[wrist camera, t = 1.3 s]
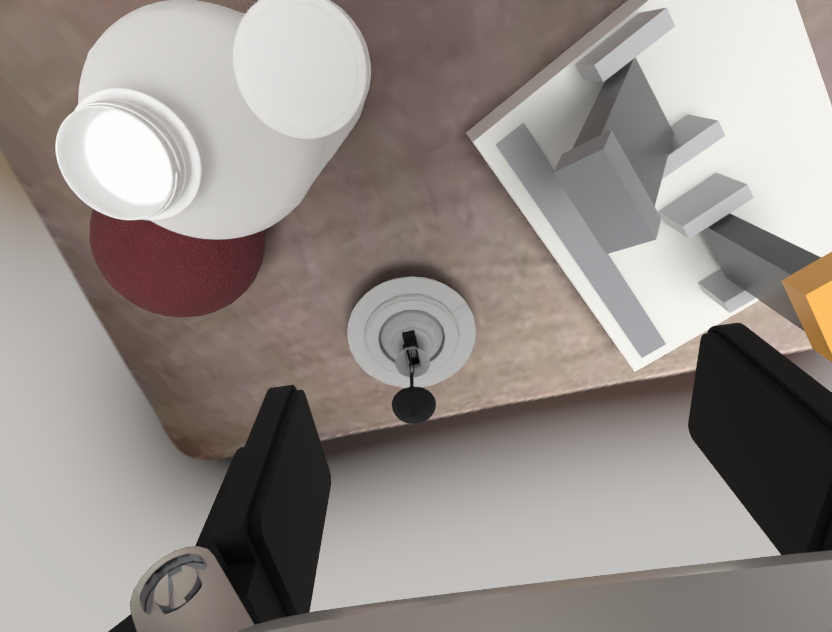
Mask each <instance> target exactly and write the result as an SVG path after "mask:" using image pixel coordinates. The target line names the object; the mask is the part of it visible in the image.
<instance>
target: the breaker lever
mask: <svg viewBox="0 0 832 632" xmlns="http://www.w3.org/2000/svg"><path fill="white" fill-rule="evenodd" d="M702 232H703V234H704V236H705V238H706V240H707V242H708V244H709V246H710V248H711V249H712V251H713V253H714V255H715V257H716V259H717V261H718V263H719V265H720V266H721V268H722V270H723V272H724V274H725V276H726V278H728V279H729V280H731V281H732V282H734V283H735V284H737V285H738V286H740V287H741V288H742V289H744V290H745V291H747V292H748V293H750V294H751V295H753V296H754V297H756V298H757V299H758V300H760V301H761V302H763V303H764V304H766V305H767V306H769V307H770V308H772V309H773V310H774V311H776V312H777V313H779V314H780V315H782V316H783V317H785V318H786V319H788V320H789V321H790V322H792V323H793V324H795V325H796V326H798V327H799V328H801V329H802V330H804V331H805V333H806V335H807V337H808V339H809V341H810V343H811V346H812V348H813V349H814V350H815V351H817V352H818V353H819V354H821V355H822V356H824V357H825V358H827V359H828V360H829V361H831V362H832V252H830V253H828V254H827V255H825V256H823V257H819V256H817V255H815V254H813V253H811V252H809V251H807V250H805V249H803V248H801V247H798V246H796V245H794V244H792V243H790V242H788V241H786V240H784V239H782V238H780V237H778V236H776V235H774V234H772V233H769V232H767V231H765V230H763V229H761V228H759V227H757V226H755V225H753V224H751V223H749V222H747V221H745V220H743V219H740V218H738V217H736V216H734V215H732V214H730V213H729V214H728V215H726V216H725V217H723V218H721V219H720V220H718V221H717V222H715V223H714V224H712V225H711V226H709V227H707V228H706V229H704V230H703V231H702Z"/></svg>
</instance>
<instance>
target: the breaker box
mask: <svg viewBox="0 0 832 632" xmlns="http://www.w3.org/2000/svg"><path fill="white" fill-rule="evenodd" d="M635 57H636V59H637V61H638V63H639V65H640V67H641V69H642V71H643V73H644V75H645V77H646V79H647V81H648V83H649V85H650V87H651V89H652V91H653V93H654V95H655V97H656V99H657V101H658V103H659V105H660V107H661V109H662V111H663V113H664V115H665V117H666V119H667V121H668V123H669V124H670V126H671V128H672V130H673V132H674V135H673V139H672V143H671V146H670V150H669V154H668V158H667V162H666V165H665V169H664V173H663V177H662V181H661V184H660V188H659V192H658V196H657V200H656V203H655V208H656V210H657V212H658V213H659V215H660V217H661V222H660V226H659V230H658V234H657V238H656V240H653V241H650V242H646V243H643V244H640V245H636V246H633V247H629V248H626V249H623V250H619V251H616V252H612V253H609V254H605V252H604V251H603V249H602V248H601V246H600V244H599V243H598V241H597V240H596V238H595V237H594V235H593V234H592V232H591V231H590V229H589V227H588V226H587V224H586V223H585V221H584V220H583V218H582V217H581V215H580V214H579V212H578V210H577V209H576V207H575V206H574V204H573V203H572V201H571V200H570V198H569V197H568V195H567V193H566V192H565V190H564V189H563V187H562V186H561V184H560V183H559V181H558V179H557V178H556V176H555V175H554V173H553V172H554V170H555V168H556V166H557V164H558V162H559V160H560V158H561V156H562V154H563V153H565V152H567V151H569V150H571V149H572V148H573V146H574V144H575V142H576V140H577V138H578V136H579V134H580V132H581V130H582V127H583V125H584V123H585V121H586V119H587V117H588V115H589V113H590V111H591V109H592V107H593V105H594V103H595V101H596V99H597V97H598V94H599V92H600V90H601V88H602V86H603V84H604V82H605V81H606V80H607V79H608V78H609V77H611V76H612V75H613V74H615V73H616V72H617V71H618V70H620V69H621V68H622V67H624V66H625V65H626V64H627V63H629V62H630V61H631V60H633V59H634V58H635ZM466 134H467V136H468V137H469V138H470V140H471V141H472V143H473V144H474V145H475V147H476V148H477V150H478V151H479V153H480V154H481V155H482V157H483V158H484V160H485V161H486V162H487V164H488V165H489V167H490V168H491V170H492V171H493V172H494V174H495V175H496V177H497V178H498V180H499V181H500V182H501V184H502V185H503V187H504V188H505V189H506V191H507V192H508V194H509V195H510V197H511V198H512V199H513V201H514V202H515V204H516V205H517V206H518V208H519V209H520V211H521V212H522V214H523V215H524V216H525V218H526V219H527V221H528V222H529V223H530V225H531V226H532V228H533V229H534V231H535V232H536V233H537V235H538V236H539V238H540V239H541V240H542V242H543V243H544V245H545V246H546V248H547V249H548V250H549V252H550V253H551V255H552V256H553V257H554V259H555V260H556V262H557V263H558V265H559V266H560V267H561V269H562V270H563V272H564V273H565V274H566V276H567V277H568V279H569V280H570V282H571V283H572V284H573V286H574V287H575V289H576V290H577V291H578V293H579V294H580V296H581V297H582V299H583V300H584V301H585V303H586V304H587V306H588V307H589V308H590V310H591V311H592V313H593V314H594V316H595V317H596V318H597V320H598V321H599V323H600V324H601V325H602V327H603V328H604V330H605V331H606V333H607V334H608V335H609V337H610V338H611V340H612V341H613V342H614V344H615V345H616V347H617V348H618V349H619V351H620V352H621V353H622V355H623V356H624V358H625V359H626V360H627V362H628V363H629V364H630V366H631V367H632V369H633V370H634V371H637V370H639V369H641V368H642V367H644V366H646V365H648V364H649V363H651V362H653V361H654V360H656V359H658V358H660V357H661V356H663V355H665V354H667V353H668V352H670V351H672V350H674V349H675V348H677V347H679V346H680V345H682V344H684V343H686V342H687V341H689V340H691V339H693V338H694V337H696V336H698V335H700V334H701V333H703V332H705V331H706V330H708V329H710V328H711V327H712V326H715V325H717V324H719V323H720V322H722V321H724V320H726V319H727V318H729V317H731V316H732V315H734V314H736V313H738V312H739V311H741V310H743V309H745V308H746V307H748V306H750V305H752V304H753V303H755V302H757V301H759V300H758V299H757V298H756V297H754V296H753V295H751V294H750V293H748V292H747V291H745V290H744V289H742V288H741V287H740V286H738V285H737V284H735V283H734V282H732V281H731V280H729V279H728V278H726V276H725V274H724V272H723V270H722V268H721V266H720V265H719V263H718V261H717V259H716V257H715V255H714V253H713V251H712V249H711V248H710V246H709V244H708V242H707V240H706V238H705V236H704V234H703V232H702V231H703V230H704V229H706V228H707V227H709V226H711V225H712V224H714V223H715V222H717V221H718V220H720V219H721V218H723V217H725V216H726V215H728V214H729V213H730V214H732V215H734V216H736V217H738V218H740V219H743V220H745V221H747V222H749V223H751V224H753V225H755V226H757V227H759V228H761V229H763V230H765V231H767V232H769V233H772V234H774V235H776V236H778V237H780V238H782V239H784V240H786V241H788V242H790V243H792V244H794V245H796V246H798V247H801V248H803V249H805V250H807V251H809V252H811V253H813V254H815V255H817V256H819V257H823V256H825V255H827V254H828V253H830V252H832V105H831V102H830V100H829V97H828V94H827V91H826V88H825V85H824V82H823V79H822V76H821V73H820V71H819V68H818V65H817V62H816V59H815V56H814V53H813V50H812V47H811V44H810V42H809V39H808V36H807V33H806V30H805V27H804V24H803V21H802V18H801V15H800V13H799V10H798V7H797V4H796V1H795V0H627V1H626V2H625V3H623V4H622V5H621V6H620V7H619V8H617V9H616V10H615V11H614V12H612V13H611V14H610V15H609V16H608V17H606V18H605V19H604V20H603V21H601V22H600V23H599V24H598V25H597V26H595V27H594V28H593V29H592V30H590V31H589V32H588V33H587V34H586V35H584V36H583V37H582V38H581V39H580V40H578V41H577V42H576V43H575V44H573V45H572V46H571V47H570V48H569V49H567V50H566V51H565V52H564V53H562V54H561V55H560V56H559V57H558V58H556V59H555V60H554V61H553V62H551V63H550V64H549V65H548V66H547V67H545V68H544V69H543V70H542V71H540V72H539V73H538V74H537V75H536V76H534V77H533V78H532V79H531V80H529V81H528V82H527V83H526V84H525V85H523V86H522V87H521V88H520V89H518V90H517V91H516V92H515V93H514V94H512V95H511V96H510V97H509V98H507V99H506V100H505V101H504V102H503V103H501V104H500V105H499V106H498V107H496V108H495V109H494V110H493V111H492V112H490V113H489V114H488V115H487V116H485V117H484V118H483V119H482V120H481V121H479V122H478V123H477V124H476V125H474V126H473V127H472V128H471V129H470V130H468V131H467V132H466Z"/></svg>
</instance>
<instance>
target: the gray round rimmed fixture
mask: <svg viewBox="0 0 832 632" xmlns="http://www.w3.org/2000/svg"><path fill="white" fill-rule="evenodd" d="M347 337H348V344H349V347H350V350H351V353H352V355H353V357H354V358H355V360H356V362H357V363H358V364H359V365H360V366H361V367H362V368H363V369H364V371H365V372H366V373H367V374H369V375H371V376H372V377H374V378H376V379H377V380H379V381H381V382H383V383H385V384H389V385H394V386H398V387H402V388H404V389H402V390H401V391H399V392H398V393H397V394H396V395H395V396H394V398H393V401H392V408H393V412H394V413H395V415H396V416H397V417H398V419H400V420H401V421H404V422H406V423H411V424H416V423H421V422H424V421H426V420H428V419H429V418H430V417H431V416H432V414H433V413H434V411H435V407H436V401H435V398H434V396H433V395H432V394H431V393H430V392H429V391H428V390H426V389H424V388H421V387H426V386H430V385H434V384H437V383H439V382H441V381H443V380H445V379H447V378H449V377H450V376H452V375H453V374H454V373H455V372H457V371H458V370H459V369H460V368H461V367H462V366H463V365H464V363H465V362H466V361H467V359H468V358H469V356H470V354H471V352H472V350H473V347H474V344H475V339H476V325H475V321H474V316H473V313H472V312H471V310H470V308H469V306H468V305H467V303H466V301H465V300H464V299H463V298H462V297H461V296H460V295H459V294H458V293H457V292H456V291H455V290H453V289H452V288H450V287H449V286H447V285H445V284H443V283H441V282H438V281H436V280H433V279H429V278H425V277H413V276H409V277H402V278H395V279H392V280H389V281H386V282H383V283H381V284H379V285H377V286H375V287H374V288H372V289H371V290H370V291H368V292H367V293H366V294H365V295H364V296H363V297H362V298H361V299H360V300H359V301H358V302H357V304H356V306H355V307H354V309H353V311H352V312H351V315H350V319H349V322H348V329H347Z"/></svg>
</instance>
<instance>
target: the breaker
mask: <svg viewBox="0 0 832 632" xmlns="http://www.w3.org/2000/svg"><path fill="white" fill-rule="evenodd" d="M673 135H674V132H673V130H672V128H671V126H670V124H669V123H668V121H667V119H666V117H665V115H664V113H663V111H662V109H661V107H660V105H659V103H658V101H657V99H656V97H655V95H654V93H653V91H652V89H651V87H650V85H649V83H648V81H647V79H646V77H645V75H644V73H643V71H642V69H641V67H640V65H639V63H638V61H637V59H636V57H635V58H634V59H633V60H631V61H630V62H629V63H627V64H626V65H625V66H624V67H622V68H621V69H620V70H618V71H617V72H616V73H615V74H613V75H612V76H611V77H609V78H608V79H607V80H606V81H605V82H604V84H603V86H602V88H601V90H600V92H599V94H598V97H597V99H596V101H595V103H594V105H593V107H592V109H591V111H590V113H589V115H588V117H587V119H586V121H585V123H584V125H583V127H582V130H581V132H580V134H579V136H578V138H577V140H576V142H575V144H574V146H573V148H572V149H571V150H569V151H567V152H565V153H563V154H562V156H561V158H560V160H559V162H558V164H557V166H556V168H555V170H554V172H553V173H554V175H555V176H556V178H557V179H558V181H559V183H560V184H561V186H562V187H563V189H564V190H565V192H566V193H567V195H568V197H569V198H570V200H571V201H572V203H573V204H574V206H575V207H576V209H577V210H578V212H579V214H580V215H581V217H582V218H583V220H584V221H585V223H586V224H587V226H588V227H589V229H590V231H591V232H592V234H593V235H594V237H595V238H596V240H597V241H598V243H599V244H600V246H601V248H602V249H603V251H604V252H605V254H609V253H612V252H616V251H619V250H623V249H626V248H629V247H633V246H636V245H640V244H643V243H646V242H650V241H653V240H656V238H657V234H658V230H659V226H660V222H661V217H660V215H659V213H658V212H657V210H656V208H655V203H656V200H657V196H658V192H659V188H660V184H661V181H662V177H663V173H664V169H665V165H666V162H667V158H668V154H669V150H670V146H671V143H672V139H673Z"/></svg>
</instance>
